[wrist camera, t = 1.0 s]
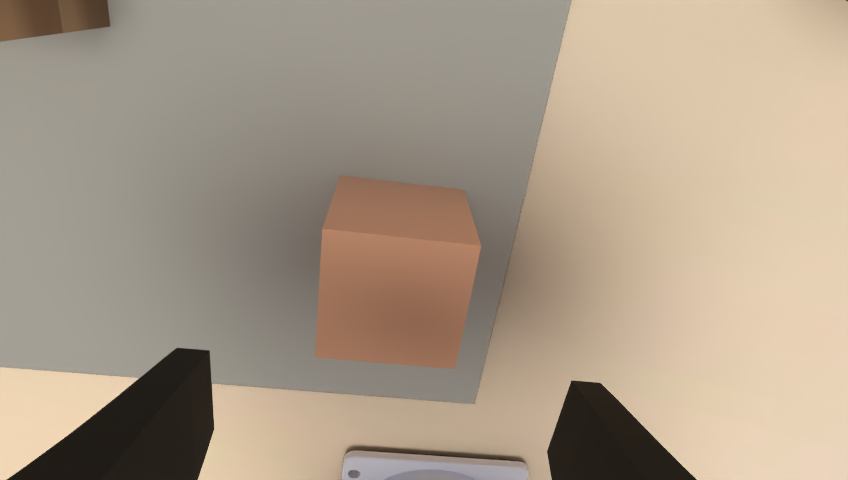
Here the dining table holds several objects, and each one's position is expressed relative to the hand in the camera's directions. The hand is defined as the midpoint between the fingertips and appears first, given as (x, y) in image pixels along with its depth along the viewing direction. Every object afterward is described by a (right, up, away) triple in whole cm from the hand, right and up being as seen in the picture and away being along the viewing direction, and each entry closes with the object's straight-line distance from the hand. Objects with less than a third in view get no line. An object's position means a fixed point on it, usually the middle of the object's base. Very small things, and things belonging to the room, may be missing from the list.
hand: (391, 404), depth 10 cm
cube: (0, +3, +7) cm, 8 cm away
